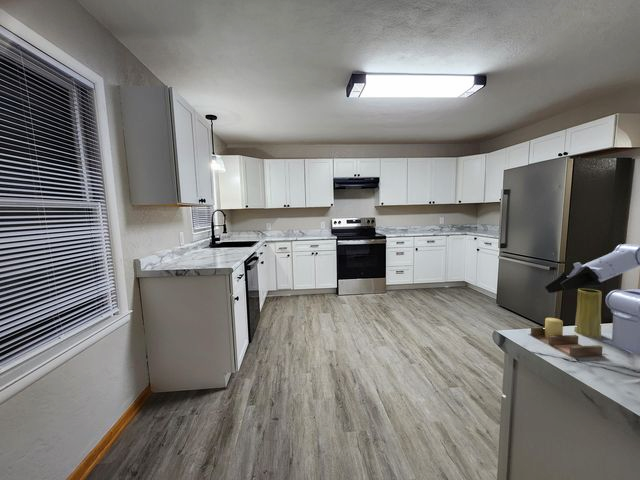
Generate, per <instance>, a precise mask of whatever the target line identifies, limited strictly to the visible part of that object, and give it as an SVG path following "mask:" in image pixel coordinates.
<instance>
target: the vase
mask: <svg viewBox="0 0 640 480" xmlns="http://www.w3.org/2000/svg"><path fill="white" fill-rule="evenodd" d="M602 293H603V292H602V291H601V290H597V289H593V288H578V289H577V302H576V303H577V304H576V313H575V324H574V330H573V332H574V333H576V334H578V335H581V336H585V337H588V338H596V339H597V338H601V337H602V316H601V315H602V314H601V313H602V297H603V295H602ZM600 324H601V325H600ZM575 326H577V327H575Z"/></svg>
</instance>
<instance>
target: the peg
mask: <svg viewBox="0 0 640 480" xmlns="http://www.w3.org/2000/svg"><path fill="white" fill-rule="evenodd" d="M563 321H564V320H561V319H559V318H555V317H554V318H553V317H546V318H545V320H544V327H545V339H546V340H549V336H561V335H564V334H563V330H564V326H563V325H564V322H563Z"/></svg>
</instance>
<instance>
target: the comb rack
mask: <svg viewBox="0 0 640 480" xmlns="http://www.w3.org/2000/svg"><path fill="white" fill-rule="evenodd" d="M543 328H545V326H531V327H530V333H529V334H527V335H529V336H530V337H532V338H534V339H535V340H538V341H540V342H542V343H543V344H545V345H547V346H549V347H551V348H552V349H555V350H556V351H558V352H560V353H561V354H564V355H565V356H567V357H570V358H571V359H581V358H582V359H583V358H585V359H587V358H588V359H589V358H605V357H606V355H604V354H603V346H602V345H600V344H599V345H598V344H596V345H582V344H580V343H579V335H577V334H570V335H569V334H568V335H567V334H565V335H564V334H563V335H561V336H549V340H546V339H545V329H543Z"/></svg>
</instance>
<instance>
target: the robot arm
mask: <svg viewBox="0 0 640 480" xmlns="http://www.w3.org/2000/svg"><path fill="white" fill-rule="evenodd" d="M573 267H574V268H573V269H572V271H571V272H570V273H569V275H567V274H566V273H565V272H564V271H562V272H560V273H558V274H557V276H556V277H555V279H553V280H552V281H551V282H549V283H548V284H546V285H545V286H544V288H545V290H546V291H547V293H548V294H553V293H557V292H562V291H565V292H566V291H573V290H578V289H582V288H584V287H585V288H587V287H600V286H601V285H602V282H604V281H607V280H609V279H611V278H614V277H616V276H619V275H621V274H623V273H626V272H629V271H631V270H633V269H636V268H638V267H640V244H637V243H635V244H634V243H624V244H622V243H620V244H618V245H617V246H616V247H615V248H614V249H613V251H612V252H609V253H608V254H605V255H602V256H601V257H598V258H596V259H593V260H592V261H591V260H590V261H588V262H586V263H585V264H582V263H581V262H578V261H577V262H575V263H573ZM605 304H606V306H607V308H609V309H610V313H611V314H612V331H611V339H603V340H602V342H605V343H606V344H609V345H610V346H613V347H615V348H618V349H621V350H624V351H626V352H627V353H631V354H633V355H640V289H639V288H634V289H633V288H631V289H630V288H629V289H625V290H622V289H614V290H613V289H612V290H611V291H610V292H609V293H607V295H605Z"/></svg>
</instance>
